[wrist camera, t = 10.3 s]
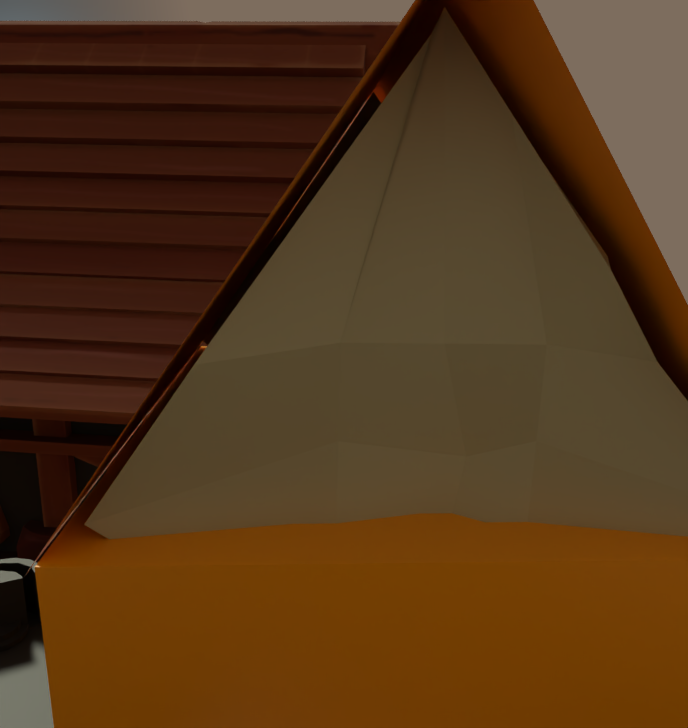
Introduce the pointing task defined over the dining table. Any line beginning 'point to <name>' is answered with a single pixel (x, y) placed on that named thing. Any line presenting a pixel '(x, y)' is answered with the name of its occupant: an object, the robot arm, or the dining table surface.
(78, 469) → the house
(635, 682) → the orange juice
